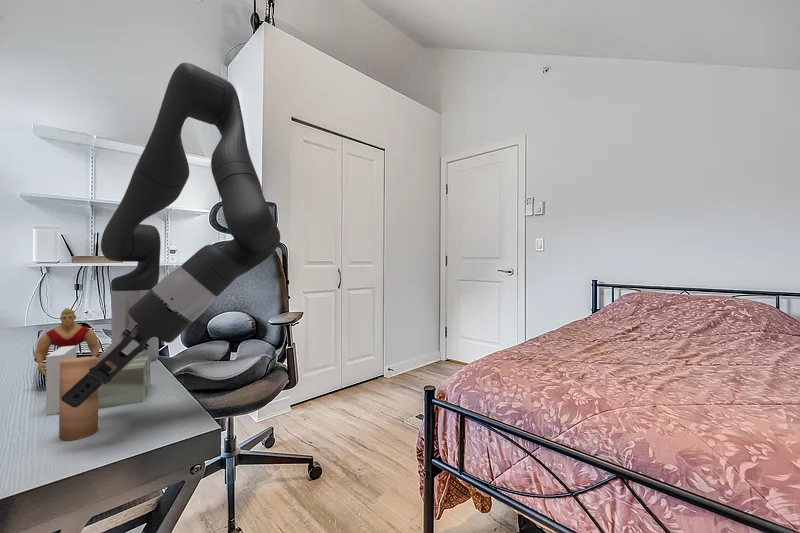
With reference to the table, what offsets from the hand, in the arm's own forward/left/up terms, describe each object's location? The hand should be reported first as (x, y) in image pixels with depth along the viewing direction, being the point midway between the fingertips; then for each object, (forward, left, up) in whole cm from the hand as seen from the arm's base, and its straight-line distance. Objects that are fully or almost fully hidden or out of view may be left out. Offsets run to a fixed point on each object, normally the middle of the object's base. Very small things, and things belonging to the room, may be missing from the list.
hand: (77, 393), depth 50 cm
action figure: (-28, -7, -6) cm, 29 cm away
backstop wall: (-15, -5, -6) cm, 17 cm away
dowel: (0, 0, -6) cm, 6 cm away
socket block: (-15, +2, -6) cm, 16 cm away
